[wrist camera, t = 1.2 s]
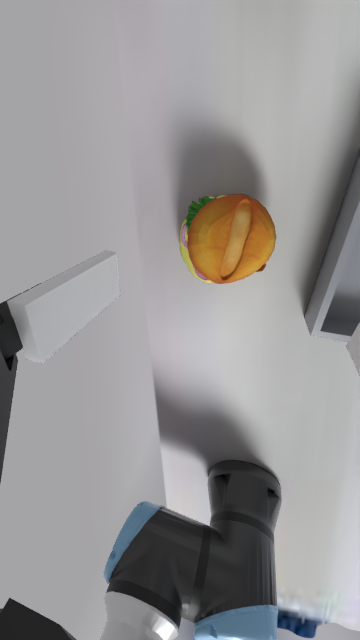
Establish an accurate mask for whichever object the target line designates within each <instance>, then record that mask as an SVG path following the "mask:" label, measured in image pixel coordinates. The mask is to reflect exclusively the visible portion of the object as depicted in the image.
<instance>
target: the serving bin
mask: <svg viewBox="0 0 360 640" xmlns="http://www.w3.org/2000/svg"><path fill="white" fill-rule="evenodd" d="M304 318H305V321H306V324H307V327H308V330H309V333H310V336H315V337H321V338H327V339H333V340H338V341H344V342H349V340H350V338H351V337H352V335H353V333H354V331H355V330H356V328H357V326H358V324H359V323H360V151H359V154H358V157H357V160H356V163H355V166H354V169H353V172H352V175H351V178H350V181H349V184H348V187H347V190H346V193H345V196H344V199H343V202H342V205H341V208H340V211H339V214H338V217H337V220H336V223H335V226H334V229H333V232H332V235H331V238H330V241H329V244H328V247H327V250H326V253H325V256H324V259H323V262H322V265H321V268H320V271H319V274H318V277H317V280H316V283H315V286H314V289H313V292H312V295H311V298H310V301H309V304H308V307H307V310H306V313H305V316H304Z"/></svg>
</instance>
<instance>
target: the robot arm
mask: <svg viewBox="0 0 360 640" xmlns="http://www.w3.org/2000/svg"><path fill="white" fill-rule="evenodd" d="M119 296H120V288H119V268H118V253H116V252H110V251H104V252H102V253H100V254H98V255H96V256H94V257H92V258H90V259H88V260H86V261H84V262H82V263H81V264H78V265H76V266H75V267H73V268H71V269H69V270H67V271H65V272H63V273H61V274H59V275H57V276H55V277H53V278H51V279H49V280H47V281H45V282H43V283H40V284H38V285H36V286H34V287H32V288H31V289H28V290H26V291H24V292H23V293H21V294H18V295H16V296H14V297H12V298H10V299H8V300H7V301H5V302H3V303H1V304H0V482H1V475H2V468H3V461H4V454H5V447H6V439H7V433H8V426H9V419H10V412H11V404H12V398H13V391H14V383H15V377H16V370H17V363H18V359H17V356H16V353H17V352H18V351H19V350H21V349H22V348H23V350H24V353H25V356H26V359H28V360H31V361H34V362H37V363H41V364H43V363H44V362H45V361H46V360H47V359H48V358H49V357H51V356H52V355H53V354H54V353H55V352H56V351H58V350H59V349H60V348H61V347H62V346H63V345H64V344H65V343H67V342H68V341H69V340H70V339H71V338H72V337H74V336H75V335H76V334H77V333H78V332H79V331H80V330H82V329H83V328H84V327H85V326H86V325H87V324H88V323H90V322H91V321H92V320H93V319H94V318H95V317H96V316H97V315H99V314H100V313H101V312H102V311H103V310H104V309H106V308H107V307H108V306H109V305H110V304H111V303H112V302H114V300H116V299H117V298H118V297H119ZM346 347H347V349H348V351H349V353H350V355H351V358H352V360H353V362H354V364H355V366H356V368H357V371H358V373H359V375H360V323H359V324H358V326H357V328H356V330H355V331H354V333H353V335H352V337H351V338H350V340H349V342H348V343H347V345H346ZM208 492H209V500H210V509H211V521H210V526H207V525H205V524H203V523H200V522H198V521H195V520H193V519H191V518H188V517H186V516H183V515H181V514H179V513H176V512H174V511H172V510H170V509H167V508H165V507H164V506H162V505H161V506H159V505H156V504H153V503H150V502H147V501H145V502H141V503H140V504H138V505H137V506H136V507H135V508H134V509H133V511H132V512H131V514H130V515H129V517H128V519H127V520H126V522H125V524H124V525H123V528H122V529H121V531H120V533H119V535H118V537H117V539H116V542H115V544H114V546H113V551H112V552H111V554H110V556H109V558H108V561H107V564H106V567H105V571H104V578H105V580H106V582H107V583H108V584H109V583H110V584H109V587H108V589H107V592H106V595H105V598H104V599H105V605H106V610H107V622H106V625H105V628H104V631H103V633H102V636H101V639H100V640H173V639H174V638H175V637H176V636H177V635H178V632H179V626H180V621H181V617H183V618H185V619H187V620H189V621H191V622H193V623H194V627H193V631H194V639H195V640H277V614H278V607H277V595H276V574H275V552H274V529H275V525H276V522H277V518H278V514H279V510H280V506H281V488H280V485H279V483H278V481H277V480H276V479H275V477H274V476H272V475H271V474H270V473H269V472H267V471H266V470H264V469H262V468H260V467H258V466H256V465H253V464H250V463H246V462H241V461H225V462H221V463H218V464H216V465H215V466H213V467H212V468H211V470H210V473H209V478H208ZM0 640H76V639H75V638H74V637H73V636H72V635H71V634H70V633H68V632H67V631H66V630H65V629H64V628H63V627H62V626H60V625H59V624H57V623H56V622H54V621H52V620H50V619H48V618H46V617H44V616H42V615H41V614H39V613H37V612H35V611H33V610H31V609H29V608H28V607H26V606H24V605H22V604H20V603H18V602H16V601H15V600H12V599H11V598H9V600H8V602H7V603H6V605H5V607H4V608H3V609H0Z"/></svg>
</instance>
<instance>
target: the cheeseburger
mask: <svg viewBox="0 0 360 640" xmlns="http://www.w3.org/2000/svg"><path fill="white" fill-rule="evenodd" d="M179 240H180V251H181V255H182V258H183V260H184V262H185V263H186V264H187V266H188V269H189V271H190V272H191V273H192V274H193V275H194V276H195V277H196V278H197V279H199V280H201V281H203V282H207V283H211V282H215V283H218V284H223V283H231V282H234V281H237V280H241V279H243V278H245V277H247V276H249V275H251V274H253V273H254V272H259V271H263V270H264V268H265V266H266V264H265V263H266V262H267V261H268V260H269V258H270V256H271V254H272V252H273V250H274V247H275V241H276V233H275V226H274V223H273V221H272V219H271V216H270V215H269V213H268V211H267V210H266V208H265V207H264V206H263V205H262V204H260V203H259V202H258V201H257V200H255V199H253V198H251V197H249V196H247V195H244V194H235V195H220V196H218V197H211V196H209V197H207V196H206V197H204V198H202V199H200V198H199V204H197V203H196V202H194V201H192V204H191V205H190V206H189V214H188V215H187V217H186V219H185V220H184V222H183V223H182V225H181V229H180V239H179Z"/></svg>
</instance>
